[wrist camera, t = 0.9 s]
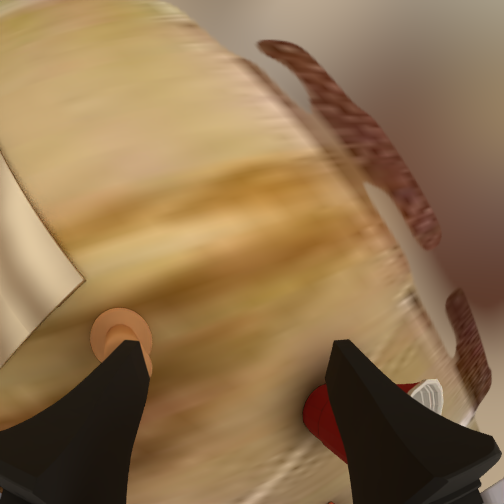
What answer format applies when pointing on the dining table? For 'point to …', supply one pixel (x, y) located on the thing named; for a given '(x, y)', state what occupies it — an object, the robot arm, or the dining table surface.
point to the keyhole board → (27, 267)
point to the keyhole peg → (120, 333)
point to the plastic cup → (324, 423)
